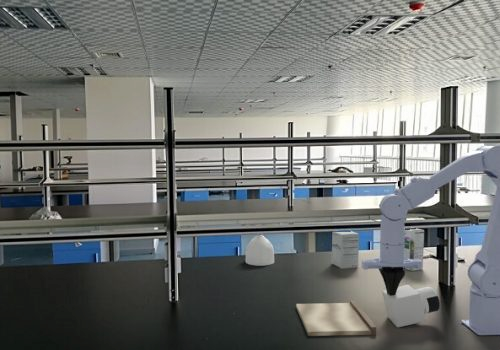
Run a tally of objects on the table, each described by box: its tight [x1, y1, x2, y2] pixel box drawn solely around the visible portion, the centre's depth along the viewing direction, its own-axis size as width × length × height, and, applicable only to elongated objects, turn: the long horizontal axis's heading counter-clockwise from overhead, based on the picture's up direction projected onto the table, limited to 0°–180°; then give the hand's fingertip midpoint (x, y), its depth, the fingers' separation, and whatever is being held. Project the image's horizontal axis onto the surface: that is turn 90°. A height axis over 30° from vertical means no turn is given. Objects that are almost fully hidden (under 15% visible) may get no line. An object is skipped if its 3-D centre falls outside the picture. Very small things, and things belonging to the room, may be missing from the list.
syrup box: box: [404, 228, 425, 272], centre depth 157 cm, size 6×6×14 cm
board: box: [295, 299, 377, 337], centre depth 110 cm, size 16×18×2 cm
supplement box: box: [331, 230, 360, 270], centre depth 161 cm, size 7×7×13 cm
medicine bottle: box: [382, 284, 441, 328], centre depth 109 cm, size 7×7×12 cm
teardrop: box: [245, 234, 275, 267], centre depth 166 cm, size 11×11×12 cm
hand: (390, 296), depth 109 cm, fingers closed
